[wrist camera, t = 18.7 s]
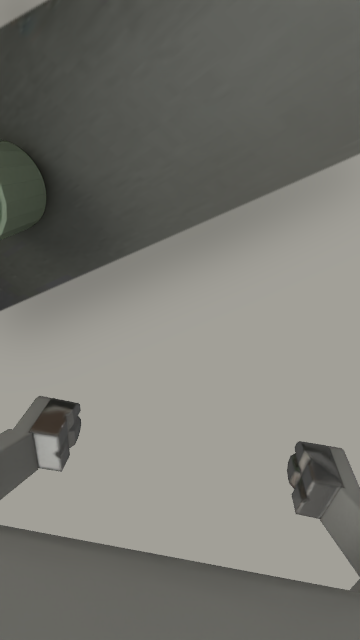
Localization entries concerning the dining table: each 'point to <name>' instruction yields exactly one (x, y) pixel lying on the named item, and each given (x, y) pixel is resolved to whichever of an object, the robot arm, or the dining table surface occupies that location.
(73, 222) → the dining table surface
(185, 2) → the dining table surface
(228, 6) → the dining table surface
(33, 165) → the cup
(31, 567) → the robot arm
